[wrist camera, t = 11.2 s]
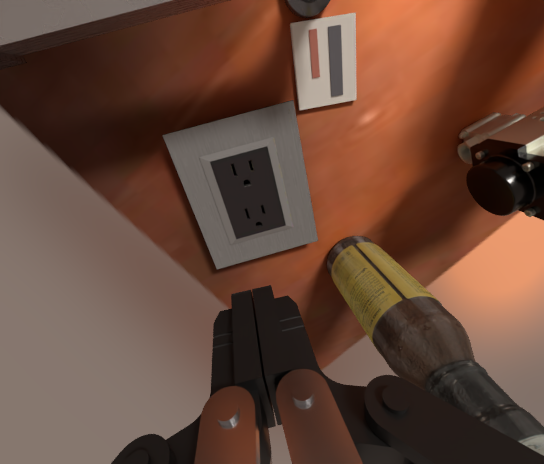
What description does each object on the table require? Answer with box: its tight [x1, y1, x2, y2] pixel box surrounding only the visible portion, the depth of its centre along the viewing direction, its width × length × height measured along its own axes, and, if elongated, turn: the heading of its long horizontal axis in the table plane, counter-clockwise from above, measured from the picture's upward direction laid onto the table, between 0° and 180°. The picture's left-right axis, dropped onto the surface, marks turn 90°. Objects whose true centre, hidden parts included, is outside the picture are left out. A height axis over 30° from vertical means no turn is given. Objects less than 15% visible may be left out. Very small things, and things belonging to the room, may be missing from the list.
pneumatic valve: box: [457, 107, 544, 220], centre depth 22 cm, size 6×12×12 cm, turn 119°
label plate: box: [290, 13, 356, 110], centre depth 22 cm, size 6×5×1 cm
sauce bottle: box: [327, 236, 544, 456], centre depth 23 cm, size 6×6×20 cm
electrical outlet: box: [162, 100, 318, 269], centre depth 25 cm, size 13×10×2 cm
